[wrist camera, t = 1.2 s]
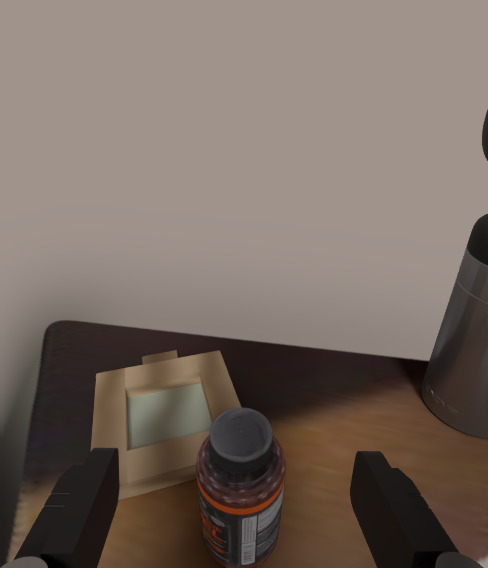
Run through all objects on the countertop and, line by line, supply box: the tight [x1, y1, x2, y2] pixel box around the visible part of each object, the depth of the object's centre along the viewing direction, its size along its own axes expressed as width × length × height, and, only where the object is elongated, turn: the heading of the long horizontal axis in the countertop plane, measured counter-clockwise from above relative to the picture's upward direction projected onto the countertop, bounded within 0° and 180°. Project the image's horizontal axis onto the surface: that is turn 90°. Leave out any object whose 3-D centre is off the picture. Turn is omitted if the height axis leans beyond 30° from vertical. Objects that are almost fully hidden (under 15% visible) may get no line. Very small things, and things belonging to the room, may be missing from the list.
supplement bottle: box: [196, 408, 285, 568], centre depth 25 cm, size 6×6×11 cm
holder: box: [91, 350, 241, 501], centre depth 37 cm, size 14×16×2 cm
